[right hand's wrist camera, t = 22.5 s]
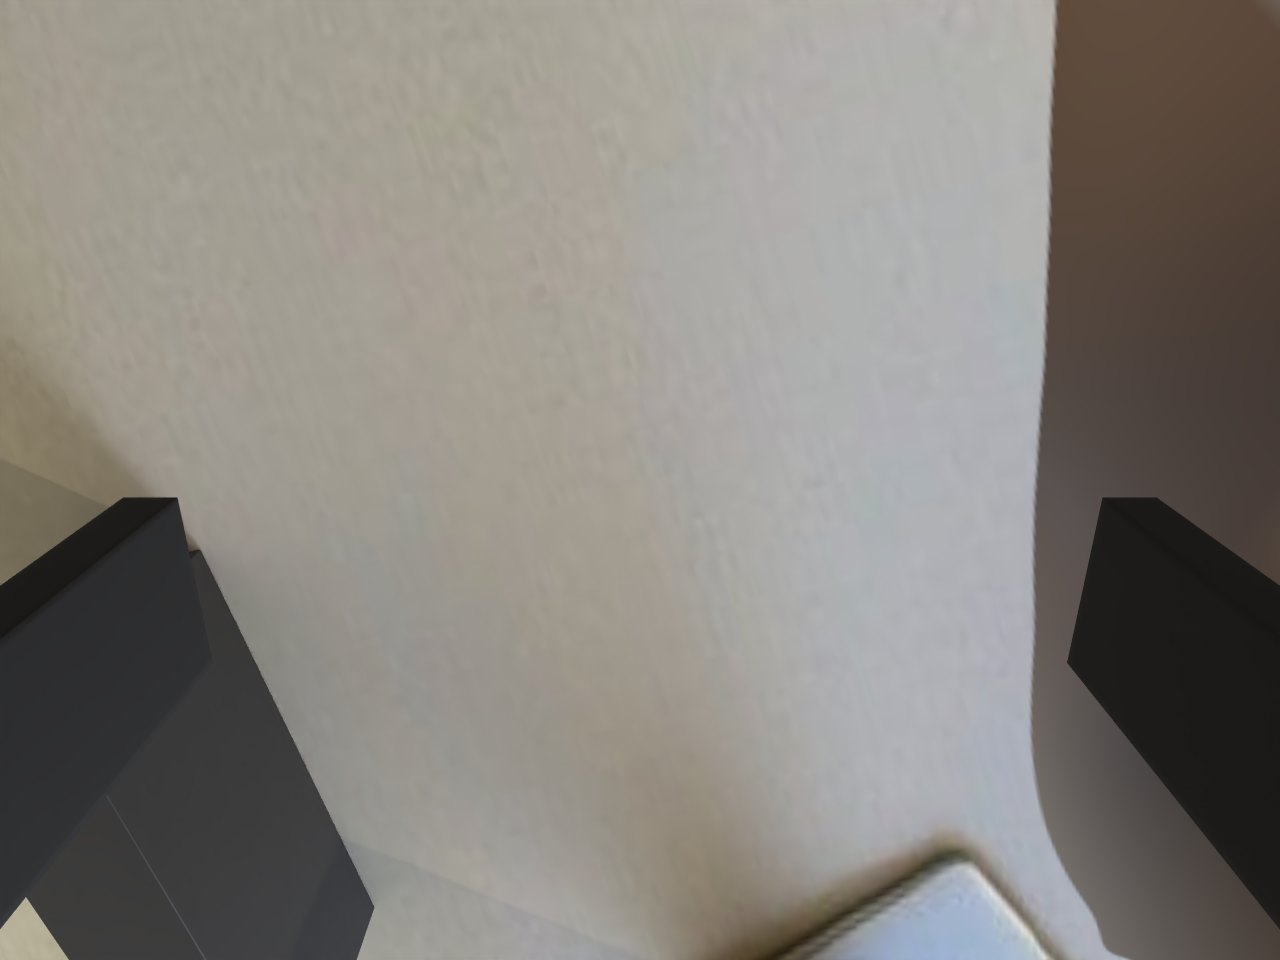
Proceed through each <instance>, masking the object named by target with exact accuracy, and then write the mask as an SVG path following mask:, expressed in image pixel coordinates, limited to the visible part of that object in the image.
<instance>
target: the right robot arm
mask: <svg viewBox="0 0 1280 960" xmlns="http://www.w3.org/2000/svg"><path fill="white" fill-rule="evenodd" d="M212 663H213V661H212V657H211V652H210V647H209V643H208V638H207V633H206V629H205V624H204V619H203V615H202V610H201V605H200V601H199V596H198V591H197V587H196V582H195V577H194V573H193V568H192V563H191V559H190V554H189V549H188V545H187V540H186V535H185V531H184V526H183V522H182V517H181V512H180V508H179V503H178V498H122V499H121V500H119V501H118V502H116V503H115V504H114V505H112V506H111V507H110V508H108V509H107V510H105V511H104V512H103V513H101V514H100V515H98V516H97V517H96V518H94V519H93V520H91V521H90V522H89V523H87V524H86V525H84V526H83V527H82V528H80V529H79V530H77V531H76V532H75V533H73V534H72V535H70V536H69V537H68V538H66V539H65V540H63V541H62V542H61V543H59V544H58V545H56V546H55V547H54V548H52V549H51V550H49V551H48V552H47V553H45V554H44V555H43V556H41V557H40V558H38V559H37V560H36V561H34V562H33V563H31V564H30V565H29V566H27V567H26V568H24V569H23V570H22V571H20V572H19V573H17V574H16V575H15V576H13V577H12V578H10V579H9V580H8V581H6V582H5V583H3V584H2V585H1V586H0V929H1V927H2V926H3V925H4V924H5V922H6V921H7V920H8V919H9V917H10V916H11V915H12V914H13V912H14V911H15V910H16V909H17V907H18V906H19V905H20V904H21V902H22V901H23V900H24V899H25V897H26V896H27V895H28V894H29V892H30V891H31V890H32V889H33V887H34V886H35V885H36V884H37V882H38V881H39V880H40V879H41V877H42V876H43V875H44V874H45V872H46V871H47V870H48V869H49V867H50V866H51V865H52V864H53V862H54V861H55V860H56V859H57V857H58V856H59V855H60V854H61V852H62V851H63V850H64V849H65V847H66V846H67V845H68V844H69V842H70V841H71V840H72V839H73V837H74V836H75V835H76V833H77V832H78V831H79V830H80V828H81V827H82V826H83V825H84V823H85V822H86V821H87V820H88V818H89V817H90V816H91V815H92V813H93V812H94V811H95V810H96V808H97V807H98V806H99V805H100V803H101V802H102V801H103V800H104V798H105V797H106V796H107V795H108V793H109V792H110V791H111V790H112V788H113V787H114V786H115V785H116V783H117V782H118V781H119V780H120V778H121V777H122V776H123V775H124V773H125V772H126V771H127V770H128V768H129V767H130V766H131V765H132V763H133V762H134V761H135V760H136V758H137V757H138V756H139V755H140V753H141V752H142V751H143V750H144V748H145V747H146V746H147V745H148V743H149V742H150V741H151V740H152V738H153V737H154V736H155V735H156V733H157V732H158V731H159V729H160V728H161V727H162V726H163V724H164V723H165V722H166V721H167V719H168V718H169V717H170V716H171V714H172V713H173V712H174V711H175V709H176V708H177V707H178V706H179V704H180V703H181V702H182V701H183V699H184V698H185V697H186V696H187V694H188V693H189V692H190V691H191V689H192V688H193V687H194V686H195V684H196V683H197V682H198V681H199V679H200V678H201V677H202V676H203V674H204V673H205V672H206V671H207V669H208V668H209V667H210V666H211V664H212ZM1067 663H1068V664H1069V666H1070V667H1071V668H1072V669H1073V671H1074V672H1075V673H1076V674H1077V675H1078V677H1079V678H1080V679H1081V681H1082V682H1083V683H1084V684H1085V686H1086V687H1087V688H1088V689H1089V691H1090V692H1091V693H1092V694H1093V696H1094V697H1095V698H1096V699H1097V701H1098V702H1099V703H1100V704H1101V706H1102V707H1103V708H1104V709H1105V711H1106V712H1107V713H1108V714H1109V716H1110V717H1111V718H1112V719H1113V721H1114V722H1115V723H1116V724H1117V726H1118V727H1119V728H1120V729H1121V731H1122V732H1123V733H1124V734H1125V736H1126V737H1127V738H1128V739H1129V741H1130V742H1131V743H1132V744H1133V746H1134V747H1135V748H1136V749H1137V751H1138V752H1139V753H1140V755H1141V756H1142V757H1143V758H1144V760H1145V761H1146V762H1147V763H1148V765H1149V766H1150V767H1151V768H1152V770H1153V771H1154V772H1155V773H1156V775H1157V776H1158V777H1159V778H1160V780H1161V781H1162V782H1163V783H1164V785H1165V786H1166V787H1167V788H1168V790H1169V791H1170V792H1171V793H1172V795H1173V796H1174V797H1175V798H1176V800H1177V801H1178V802H1179V803H1180V805H1181V806H1182V807H1183V808H1184V810H1185V811H1186V812H1187V813H1188V815H1189V816H1190V817H1191V818H1192V820H1193V821H1194V822H1195V823H1196V825H1197V826H1198V827H1199V828H1200V830H1201V831H1202V832H1203V834H1204V835H1205V836H1206V837H1207V839H1208V840H1209V841H1210V842H1211V844H1212V845H1213V846H1214V847H1215V848H1216V850H1217V851H1218V852H1219V853H1220V855H1221V856H1222V857H1223V859H1224V860H1225V861H1226V862H1227V864H1228V865H1229V866H1230V867H1231V869H1232V870H1233V871H1234V872H1235V874H1236V875H1237V876H1238V877H1239V879H1240V880H1241V881H1242V882H1243V884H1244V885H1245V886H1246V887H1247V889H1248V890H1249V891H1250V892H1251V894H1252V895H1253V896H1254V897H1255V899H1256V900H1257V901H1258V902H1259V904H1260V905H1261V906H1262V907H1263V909H1264V910H1265V911H1266V912H1267V914H1268V915H1269V916H1270V917H1271V919H1272V920H1273V921H1274V922H1275V924H1276V925H1277V926H1278V927H1279V929H1280V586H1279V585H1278V584H1277V583H1275V582H1274V581H1272V580H1271V579H1270V578H1268V577H1267V576H1265V575H1264V574H1263V573H1261V572H1260V571H1258V570H1257V569H1256V568H1254V567H1253V566H1251V565H1250V564H1249V563H1247V562H1246V561H1244V560H1243V559H1242V558H1240V557H1239V556H1237V555H1236V554H1235V553H1233V552H1232V551H1231V550H1229V549H1228V548H1226V547H1225V546H1224V545H1222V544H1221V543H1219V542H1218V541H1217V540H1215V539H1214V538H1212V537H1211V536H1209V535H1208V534H1207V533H1205V532H1204V531H1203V530H1201V529H1200V528H1198V527H1197V526H1196V525H1194V524H1193V523H1191V522H1190V521H1189V520H1187V519H1186V518H1184V517H1183V516H1182V515H1180V514H1179V513H1177V512H1176V511H1175V510H1173V509H1172V508H1170V507H1169V506H1168V505H1166V504H1165V503H1163V502H1162V501H1161V500H1159V499H1158V498H1102V503H1101V508H1100V512H1099V517H1098V522H1097V526H1096V531H1095V535H1094V540H1093V545H1092V550H1091V554H1090V559H1089V563H1088V568H1087V573H1086V577H1085V582H1084V587H1083V591H1082V596H1081V601H1080V605H1079V610H1078V615H1077V619H1076V624H1075V629H1074V633H1073V638H1072V643H1071V647H1070V652H1069V657H1068V661H1067Z"/></svg>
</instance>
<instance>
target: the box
mask: <svg viewBox="0 0 1280 960" xmlns="http://www.w3.org/2000/svg"><path fill="white" fill-rule="evenodd" d="M189 554H190V559H191V563H192V568H193V573H194V577H195V582H196V587H197V591H198V596H199V601H200V605H201V610H202V615H203V619H204V624H205V629H206V633H207V638H208V643H209V647H210V652H211V657H212V661H213V663H212V664H211V666H210V667H209V668H208V669H207V671H206V672H205V673H204V674H203V676H202V677H201V678H200V679H199V681H198V682H197V683H196V684H195V686H194V687H193V688H192V689H191V691H190V692H189V693H188V694H187V696H186V697H185V698H184V699H183V701H182V702H181V703H180V704H179V706H178V707H177V708H176V709H175V711H174V712H173V713H172V714H171V716H170V717H169V718H168V719H167V721H166V722H165V723H164V724H163V726H162V727H161V728H160V729H159V731H158V732H157V733H156V735H155V736H154V737H153V738H152V740H151V741H150V742H149V743H148V745H147V746H146V747H145V748H144V750H143V751H142V752H141V753H140V755H139V756H138V757H137V758H136V760H135V761H134V762H133V763H132V765H131V766H130V767H129V768H128V770H127V771H126V772H125V773H124V775H123V776H122V777H121V778H120V780H119V781H118V782H117V783H116V785H115V786H114V787H113V788H112V790H111V791H110V792H109V793H108V795H107V796H106V797H105V798H104V800H103V801H102V802H101V803H100V805H99V806H98V807H97V808H96V810H95V811H94V812H93V813H92V815H91V816H90V817H89V818H88V820H87V821H86V822H85V823H84V825H83V826H82V827H81V828H80V830H79V831H78V832H77V833H76V835H75V836H74V837H73V839H72V840H71V841H70V842H69V844H68V845H67V846H66V847H65V849H64V850H63V851H62V852H61V854H60V855H59V856H58V857H57V859H56V860H55V861H54V862H53V864H52V865H51V866H50V867H49V869H48V870H47V871H46V872H45V874H44V875H43V876H42V877H41V879H40V880H39V881H38V882H37V884H36V885H35V886H34V887H33V889H32V890H31V891H30V892H29V894H28V895H27V896H26V898H27V899H28V901H29V902H30V903H31V905H32V906H33V908H34V909H35V911H36V912H37V914H38V915H39V917H40V918H41V920H42V921H43V923H44V924H45V925H46V927H47V928H48V930H49V931H50V933H51V934H52V936H53V937H54V939H55V940H56V942H57V943H58V944H59V946H60V947H61V949H62V950H63V952H64V953H65V955H66V956H67V958H68V959H69V960H357V957H358V954H359V951H360V948H361V945H362V942H363V939H364V936H365V933H366V930H367V927H368V925H369V922H370V919H371V916H372V913H373V910H374V906H373V904H372V902H371V900H370V897H369V895H368V893H367V891H366V889H365V887H364V885H363V883H362V881H361V879H360V877H359V875H358V873H357V871H356V869H355V867H354V865H353V863H352V860H351V858H350V856H349V854H348V852H347V850H346V848H345V846H344V844H343V842H342V840H341V838H340V836H339V834H338V832H337V830H336V828H335V826H334V823H333V821H332V819H331V817H330V815H329V813H328V811H327V809H326V807H325V805H324V803H323V801H322V799H321V797H320V795H319V793H318V791H317V789H316V787H315V784H314V782H313V780H312V778H311V776H310V774H309V772H308V770H307V768H306V766H305V764H304V762H303V760H302V758H301V756H300V754H299V752H298V750H297V747H296V745H295V743H294V741H293V739H292V737H291V735H290V733H289V731H288V729H287V727H286V725H285V723H284V721H283V719H282V717H281V715H280V713H279V710H278V708H277V706H276V704H275V702H274V700H273V698H272V696H271V694H270V692H269V690H268V688H267V686H266V684H265V682H264V680H263V678H262V676H261V673H260V671H259V669H258V667H257V665H256V663H255V661H254V659H253V657H252V655H251V653H250V651H249V649H248V647H247V645H246V643H245V641H244V639H243V637H242V634H241V632H240V630H239V628H238V626H237V624H236V622H235V620H234V618H233V616H232V614H231V612H230V610H229V608H228V606H227V604H226V602H225V600H224V597H223V595H222V593H221V591H220V589H219V587H218V585H217V583H216V581H215V579H214V577H213V575H212V573H211V571H210V569H209V567H208V565H207V563H206V560H205V558H204V556H203V554H202V552H201V550H196V551H192V552H189Z"/></svg>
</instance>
